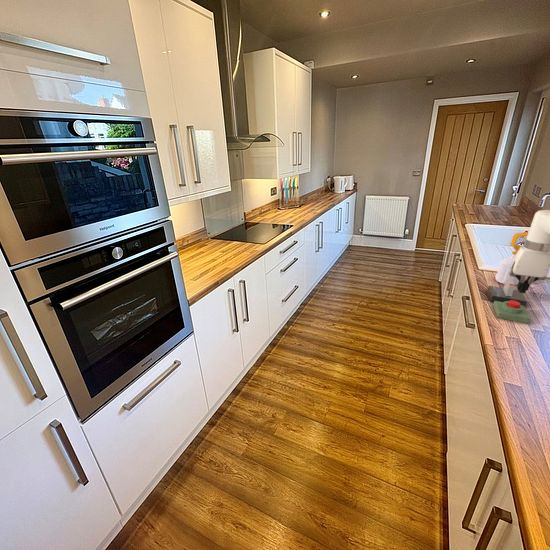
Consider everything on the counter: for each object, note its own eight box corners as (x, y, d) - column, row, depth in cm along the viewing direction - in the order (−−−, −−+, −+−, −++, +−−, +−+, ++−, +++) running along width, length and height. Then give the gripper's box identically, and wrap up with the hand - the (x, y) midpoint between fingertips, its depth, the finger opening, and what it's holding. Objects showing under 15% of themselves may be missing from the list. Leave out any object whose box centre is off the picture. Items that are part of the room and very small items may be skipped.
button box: (522, 310, 118) (525, 302, 116) (529, 323, 110) (533, 314, 108) (492, 305, 122) (495, 296, 120) (497, 317, 114) (500, 308, 112)
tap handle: (502, 289, 127) (506, 278, 125) (508, 290, 127) (512, 279, 124) (505, 295, 123) (509, 284, 120) (511, 296, 122) (515, 285, 119)
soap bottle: (520, 287, 135) (540, 236, 124) (497, 284, 138) (515, 234, 127) (514, 278, 143) (532, 230, 132) (492, 276, 146) (508, 229, 135)
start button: (517, 305, 115) (519, 301, 114) (519, 309, 112) (521, 305, 111) (506, 303, 116) (508, 299, 115) (508, 307, 113) (510, 303, 112)
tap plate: (518, 296, 127) (521, 290, 126) (524, 307, 119) (527, 301, 118) (486, 291, 132) (488, 285, 131) (490, 301, 124) (492, 295, 123)
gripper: (561, 245, 103) (543, 290, 110) (509, 240, 109) (495, 284, 116) (569, 251, 97) (549, 299, 104) (514, 246, 103) (499, 292, 110)
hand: (521, 291), depth 110 cm, fingers closed
